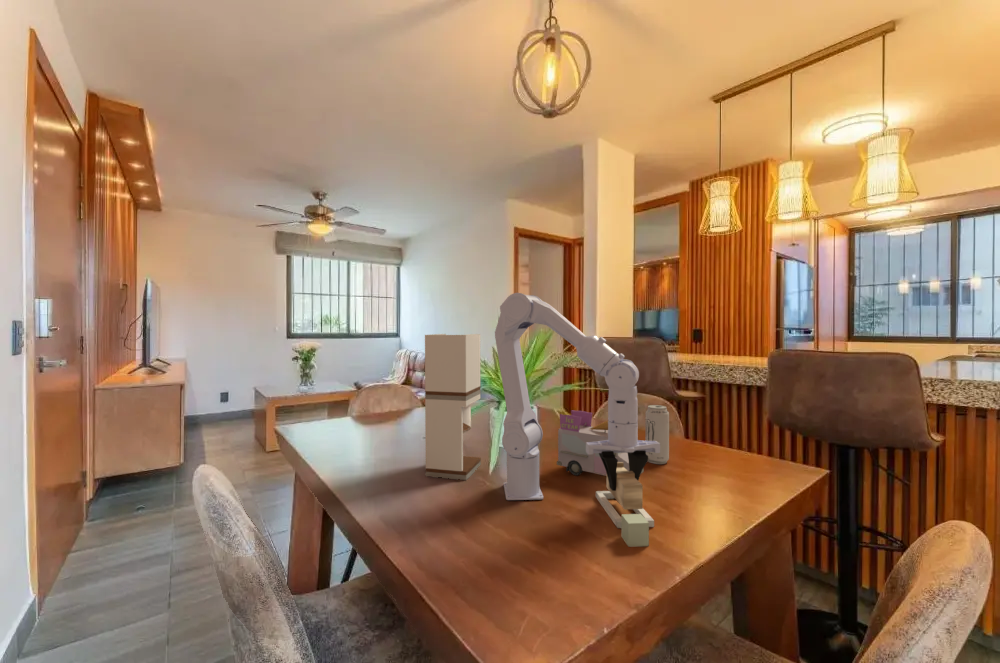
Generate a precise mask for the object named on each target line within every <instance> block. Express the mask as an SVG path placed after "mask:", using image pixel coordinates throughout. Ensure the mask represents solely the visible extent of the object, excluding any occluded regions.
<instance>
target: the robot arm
mask: <svg viewBox="0 0 1000 663" xmlns="http://www.w3.org/2000/svg"><path fill="white" fill-rule="evenodd" d="M499 309H500V314H499V317H498V320H497V324H496V327H495V331H494V339H495V346H496V350H497V351H496V352H497V357H498V364H499V369H500V376H501V383H502V388H503V389H502V390H503V395H504V400H505V407H506V414H505V418H504V420H503V434H502V437H501V443H502V447H503V449H504V451H505V452H506V481H505V482H503V489H504V495H505V500H507V501H524V500H525V501H527V500H529V501H532V500H533V501H535V500H544V494H543V492H542V490H541V487H540V450H539V444H540V443H541V442H542V440H543V437H544V436H543V435H544V433H543V432H544V431H543V429H542V426H541V425H540V424H539V421H538V419H537V415H536V412H535V411H534V410H533V408H532V407H531V402H530V395H529V390H528V389H529V388H528V383H527V377H526V371H525V365H524V359H523V352H522V348H521V347H522V346H521V342H520V340H521V338H522V336H523V335H524V334H525V332H526V331H527V330H528V329H529V327H531V326H532V325H534V324H537V325H543V326H546V327H548V328H549V329H551V330H552V331H553V332H554V333H556V334H558V335H559V336H560V337H561V338H563V339H564V340H565V341H567V342H568V343H570V344H571V345H572V346H573V347H575V349H576V355H577V358H578V359H580V360H581V361H582V362H583V363H584V364H586V365H587V366H589V368H590V369H592V370H593V371H594V372H595V373H596V374H598V375H599V376H600V377H604V380H605V383H606V385H607V387H608V398H607V412H608V413H607V420H608V440H604V441H597V442H586V452H587V453H588V454H594V453H599V455H600V457H601V460H602V462H603V464H604V467H605V469H606V473H607V476H608V480H609V487H610V488H611V489H612V490H613V491H616V469H617V462H618V460H617V459H616V458H615V455H614V453H628V459H629V471H633V472H634V473H635V478H636V479H637V480H638V481H639V480H640V476H641V474H642V473H641V472H642V470H643V469H645V468H644V467H645V466H646V465H647V463H648V455H646V452H654V453H660V443H658V442H657V441H645V440H640V439H638V437H639V436H638V435H639V434H638V433H639V432H638V429H639V428H638V426H639V424H638V421H639V415H638V414H639V413H638V412H639V411H638V410H639V409H638V408H639V405H638V404H639V400H638V388H637V387H638V386H637V385H636V384H637V383H638V381H639V378H640V371H639V368H638V367H637V366H636V365H635V364H634V362H633V361H632V360H630V359H625V355H624V353H623V352H622V353H618V352H617V351H616V350H615V349H613V348H612V347H610V345H608V344H606V342H607V339H606V338H604V337H602V336H600V337H598V336H597V335H586V334H584V332H582V331H581V330H580V329H579V328H578V327H576V325H574V324H573V323H572V322H571V321H570V320H568V319H567V318H566V317H565V316H564V315H562V313H560V312H559V311H558V310H557V309H556V308H555V307H554V306H552V305H551V304H549V303H548V302H546V301H545V300H544V301H543V300H542V299H541V298H540V297H539V296H537V295H533V294H524V293H522V292H514V293H511V294H510V295H508V297H507V298H506V299H504V301H503V302H502V303H501V305H500V306H499Z"/></svg>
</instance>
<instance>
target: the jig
mask: <svg viewBox="0 0 1000 663" xmlns="http://www.w3.org/2000/svg"><path fill="white" fill-rule="evenodd" d="M595 498H596V499H597V501H598V502H599V504H600V505H601V507H602V508H603V509H604V511H605V512H606V514H607V515H608V517H609V518H610V519H611V521H612V522H613V524H614V525H615V527H616V528H617V529H621V516H620V514H619V513H618V512H617V511H616V509H615V508H614V506H613V505H612V504H611V502H610V501H609V499H611V500H613V499H615V497H614V496H613V495H612V494H611V492H610V491H609V490H597V491H595ZM615 500H616V499H615ZM632 511H633V512H634V514H641V515H642V516H643V517H644V518H645V519H646V520H647V521H648V523H649V528H655V520H654V519H653V517H652V516H651V515H650V514H649V513H648V512H647V510H645V509H644V507H643V508H642V509H632Z"/></svg>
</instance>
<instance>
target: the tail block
mask: <svg viewBox="0 0 1000 663" xmlns="http://www.w3.org/2000/svg"><path fill="white" fill-rule="evenodd" d="M620 517H621V528H620V529H621V532H620V533H621V535H620V536H621V538H622V540H623V541H624V542H625V544H626V546H627V547H631V548H633V547H649V546H650V539H649V538H650V527H649V523H648V521H647V520H646V519H645V518H644V517H643V516H642V515H641V514H636V513H626V514H625V513H624V514H621V516H620Z"/></svg>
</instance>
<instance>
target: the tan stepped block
mask: <svg viewBox="0 0 1000 663" xmlns="http://www.w3.org/2000/svg"><path fill="white" fill-rule="evenodd" d="M605 478H606V480H605V481H606V483H605V484H606V489H607V491H610V492H611V494H612V495H613V496H614V497H615V500H616V501H617V502H618V504H619V505H620V507H622V509H623V510H633V509H642V508H643V509H644V507H643V506H644V505H643V501H644V500H643V494H644V493H643V488H644V487H643V484H642V483H641V482H640V481H639V480H637V479H636V478H635V473H634V472H633V471H627V470H626V469H625V468H624V463H623V462H617V469H616V491H613V490H612V489H611V488H610V487H609V480H608V476H607V473H606V477H605Z"/></svg>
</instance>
